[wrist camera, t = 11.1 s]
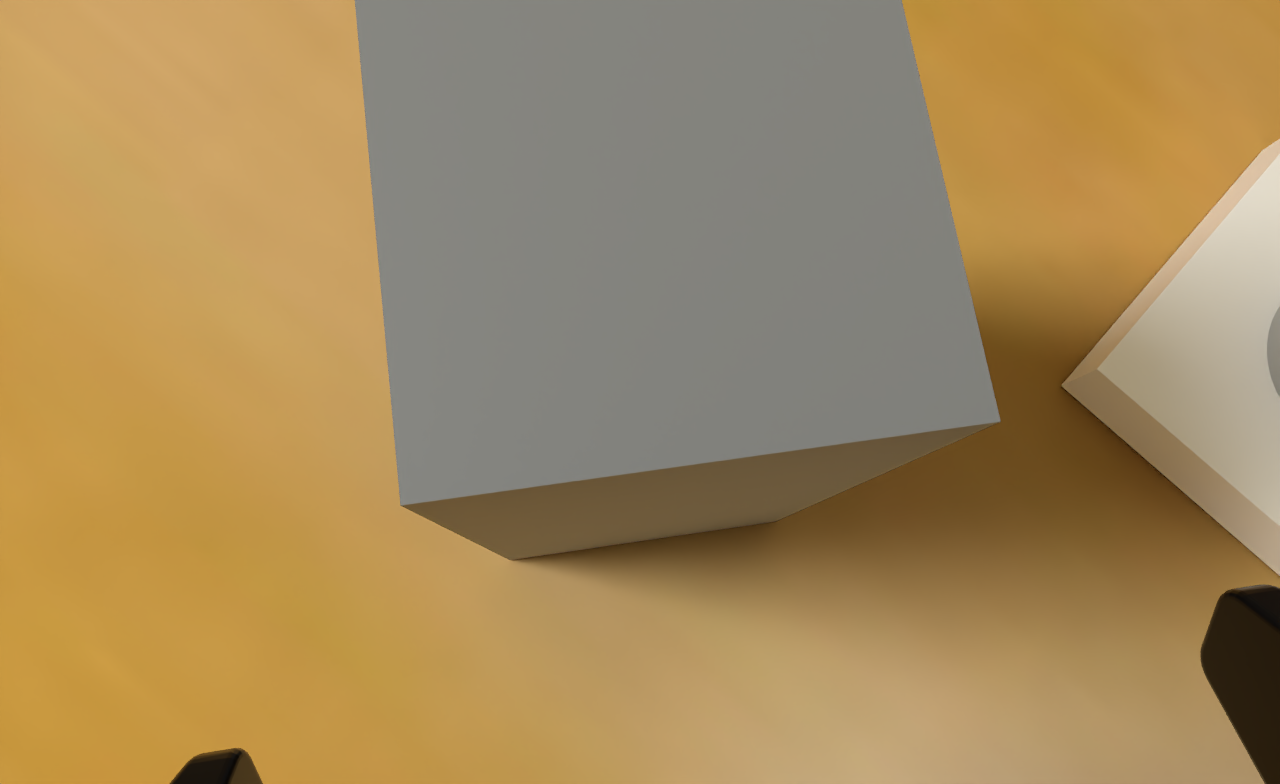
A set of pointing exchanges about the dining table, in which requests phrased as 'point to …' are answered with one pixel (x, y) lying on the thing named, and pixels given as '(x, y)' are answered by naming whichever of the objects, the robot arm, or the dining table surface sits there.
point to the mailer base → (1206, 364)
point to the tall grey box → (658, 262)
